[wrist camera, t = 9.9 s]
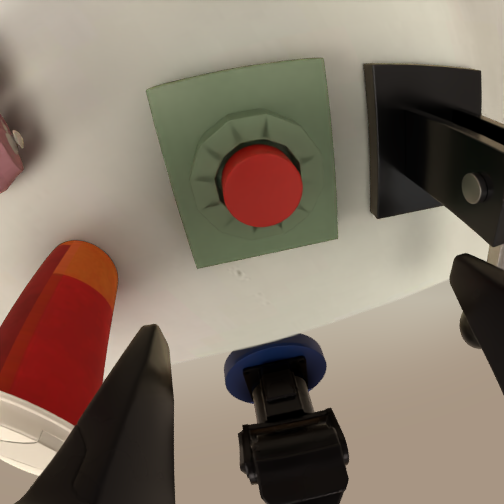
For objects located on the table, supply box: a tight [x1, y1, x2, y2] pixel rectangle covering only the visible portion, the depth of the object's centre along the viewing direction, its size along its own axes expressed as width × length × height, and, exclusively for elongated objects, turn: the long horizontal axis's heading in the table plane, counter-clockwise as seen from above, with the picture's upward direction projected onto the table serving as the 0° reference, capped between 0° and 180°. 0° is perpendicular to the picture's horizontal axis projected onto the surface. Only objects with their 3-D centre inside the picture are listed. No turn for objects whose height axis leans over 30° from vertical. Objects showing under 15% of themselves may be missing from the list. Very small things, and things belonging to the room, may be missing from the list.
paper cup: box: [0, 240, 118, 476], centre depth 15 cm, size 8×8×14 cm
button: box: [222, 144, 303, 227], centre depth 15 cm, size 4×4×2 cm
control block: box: [146, 58, 338, 269], centre depth 17 cm, size 11×9×4 cm
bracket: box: [364, 63, 504, 248], centre depth 14 cm, size 10×9×10 cm
